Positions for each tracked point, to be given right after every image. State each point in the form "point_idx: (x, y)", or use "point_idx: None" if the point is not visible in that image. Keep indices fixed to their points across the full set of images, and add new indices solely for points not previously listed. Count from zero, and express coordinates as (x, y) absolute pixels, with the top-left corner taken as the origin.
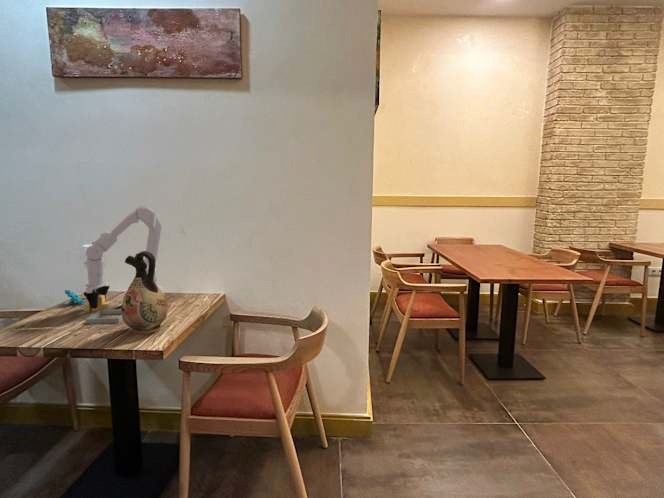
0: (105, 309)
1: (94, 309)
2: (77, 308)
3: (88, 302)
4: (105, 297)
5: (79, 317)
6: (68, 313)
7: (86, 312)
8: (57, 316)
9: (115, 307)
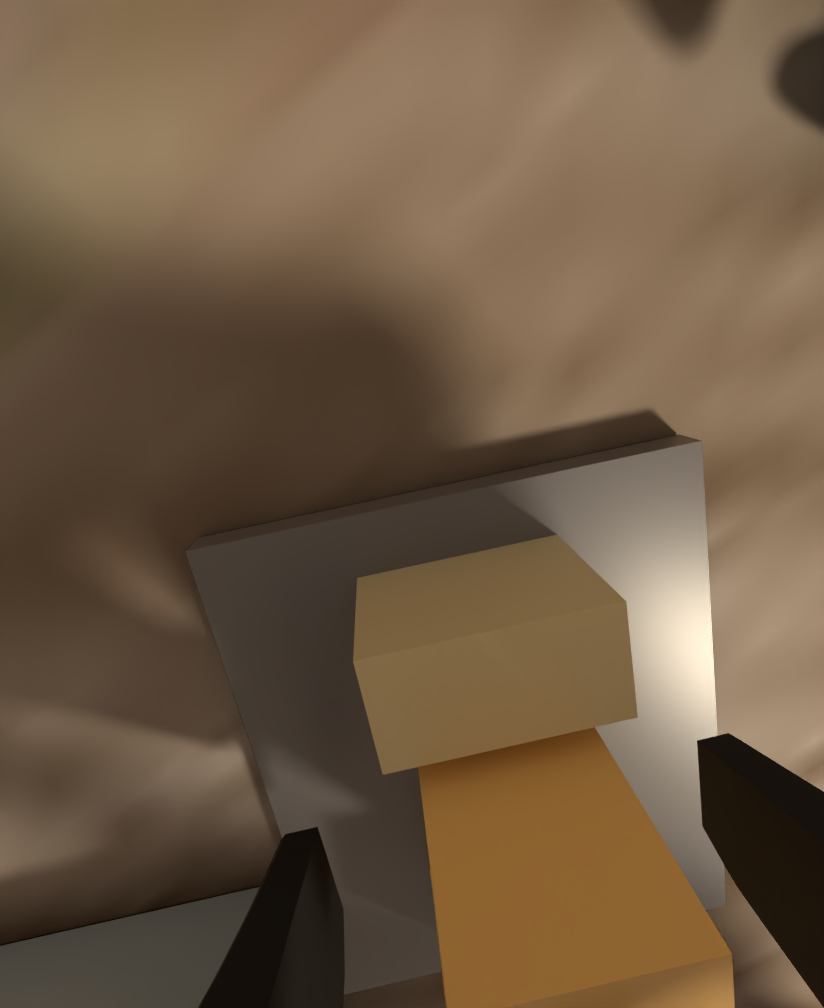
0: None
1: None
2: (719, 130)
3: (586, 629)
4: (819, 981)
5: (121, 630)
6: (324, 201)
7: (310, 653)
8: (60, 91)
9: None
